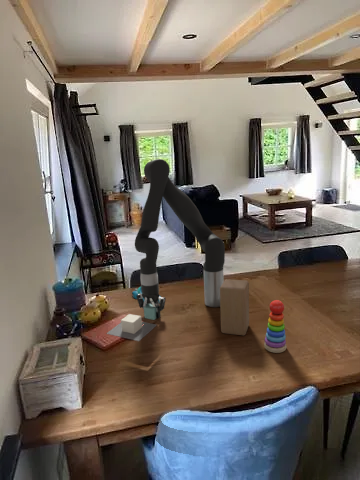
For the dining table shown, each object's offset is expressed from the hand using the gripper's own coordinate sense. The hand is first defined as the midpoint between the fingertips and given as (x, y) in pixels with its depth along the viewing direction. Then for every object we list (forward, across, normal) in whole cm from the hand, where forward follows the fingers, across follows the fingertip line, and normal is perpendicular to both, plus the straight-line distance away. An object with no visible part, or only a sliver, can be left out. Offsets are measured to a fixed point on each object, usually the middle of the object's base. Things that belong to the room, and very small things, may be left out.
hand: (152, 317), depth 162 cm
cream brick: (-1, +2, +13) cm, 13 cm away
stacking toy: (+1, -55, +4) cm, 55 cm away
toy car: (+1, +14, -18) cm, 23 cm away
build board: (0, +2, +13) cm, 13 cm away
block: (+1, -37, -4) cm, 37 cm away
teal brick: (0, 0, 0) cm, 0 cm away
